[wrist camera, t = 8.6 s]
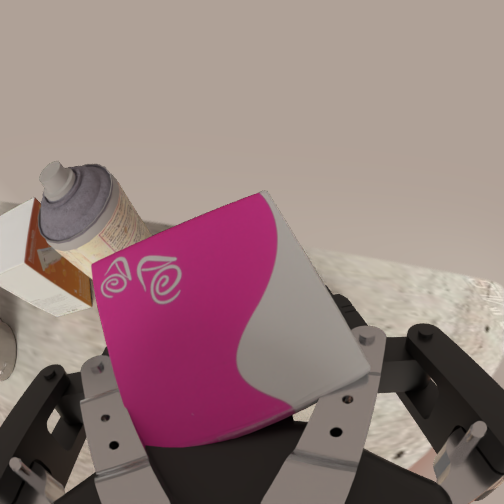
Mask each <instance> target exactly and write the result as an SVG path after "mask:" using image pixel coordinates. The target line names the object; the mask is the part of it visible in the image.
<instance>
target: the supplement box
mask: <svg viewBox="0 0 504 504" xmlns="http://www.w3.org/2000/svg"><path fill="white" fill-rule="evenodd" d="M91 270H92V279H93V285H94V291H95V297H96V302H97V307H98V312H99V316H100V320H101V324H102V328H103V332H104V337H105V341H106V345H107V349H108V353H109V357H110V360H111V364H112V368H113V372H114V375H115V379H116V382H117V386H118V389H119V392H120V395H121V398H122V401H123V404H124V407H125V408H127V410H128V412H129V414H130V416H131V418H132V420H133V422H134V424H135V426H136V428H137V430H138V432H139V434H140V435H141V437H142V439H143V441H144V443H145V445H148V446H157V447H191V446H199V445H206V444H211V443H216V442H221V441H225V440H230V439H234V438H238V437H241V436H243V435H246V434H249V433H252V432H254V431H257V430H259V429H262V428H264V427H267V426H269V425H271V424H274V423H276V422H278V421H280V420H283V419H285V418H287V417H289V416H291V415H293V414H295V413H297V412H299V411H301V410H304V409H306V408H308V407H310V406H311V405H313V404H315V403H317V402H318V400H319V397H320V396H322V395H325V394H328V393H330V392H333V391H335V390H337V389H340V388H342V387H344V386H346V385H349V384H351V383H353V382H355V381H357V380H358V379H360V378H362V377H363V376H364V375H366V374H367V373H369V371H370V369H371V367H370V365H369V362H368V361H367V359H366V357H365V355H364V353H363V351H362V349H361V347H360V346H359V344H358V342H357V340H356V339H355V337H354V335H353V333H352V332H351V330H350V328H349V326H348V324H347V323H346V321H345V319H344V317H343V316H342V314H341V312H340V310H339V309H338V307H337V305H336V304H335V302H334V300H333V298H332V297H331V295H330V293H329V292H328V290H327V288H326V286H325V285H324V283H323V281H322V280H321V278H320V276H319V275H318V273H317V271H316V270H315V268H314V266H313V265H312V263H311V261H310V260H309V258H308V256H307V255H306V253H305V252H304V250H303V248H302V247H301V245H300V244H299V242H298V240H297V239H296V237H295V235H294V234H293V232H292V230H291V229H290V227H289V225H288V224H287V222H286V220H285V219H284V217H283V215H282V214H281V212H280V210H279V209H278V207H277V206H276V204H275V203H274V201H273V199H272V198H271V196H270V194H269V193H268V191H261V192H259V193H257V194H254V195H251V196H248V197H245V198H243V199H240V200H238V201H236V202H233V203H230V204H227V205H225V206H222V207H220V208H217V209H215V210H212V211H210V212H207V213H205V214H203V215H200V216H198V217H195V218H193V219H190V220H188V221H186V222H183V223H181V224H179V225H176V226H174V227H172V228H169V229H167V230H165V231H162V232H160V233H158V234H156V235H153V236H151V237H149V238H147V239H144V240H142V241H140V242H137V243H135V244H133V245H131V246H128V247H126V248H124V249H122V250H120V251H117V252H115V253H113V254H111V255H109V256H107V257H105V258H103V259H100V260H98V261H96V262H94V263H93V264H91Z"/></svg>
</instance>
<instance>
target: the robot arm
mask: <svg viewBox="0 0 504 504" xmlns="http://www.w3.org/2000/svg"><path fill="white" fill-rule="evenodd" d="M325 286H326V285H325ZM326 288H327V290H328V292H329V293H330V295H331V297H332V298H333V300H334V302H335V304H336V305H337V307H338V309H339V310H340V312H341V314H342V316H343V317H344V319H345V321H346V323H347V324H348V326H349V328H350V330H351V332H352V333H353V335H354V337H355V339H356V340H357V342H358V344H359V346H360V347H361V349H362V351H363V353H364V355H365V357H366V359H367V361H368V362H369V365H370V367H371V369H370V371H369V373H367V374H366V375H364V376H363V377H362V378H360V379H358V380H357V381H355V382H353V383H351V384H349V385H346V386H344V387H342V388H340V389H337V390H335V391H333V392H330V393H328V394H325V395H322V396H320V397H319V400H318V402H317V404H316V406H315V409H314V411H313V413H312V415H311V417H310V420H309V422H302V421H294V420H293V416H292V415H291V416H289V417H287V418H285V419H283V420H280V421H278V422H276V423H274V424H271V425H269V426H267V427H264V428H262V429H259V430H257V431H254V432H252V433H249V434H246V435H243V436H241V437H238V438H234V439H230V440H225V441H221V442H216V443H211V444H206V445H199V446H191V447H157V446H148V445H145V443H144V441H143V439H142V437H141V435H140V434H139V432H138V430H137V428H136V426H135V424H134V422H133V420H132V418H131V416H130V414H129V412H128V410H127V408H125V407H124V404H123V401H122V398H121V395H120V392H119V389H118V386H117V382H116V379H115V375H114V372H113V368H112V364H111V360H110V357H109V353H108V349H107V347H106V348H105V350H104V352H103V354H102V355H100V356H95V357H93V358H91V359H89V360H87V361H86V362H85V363H84V364H83V365H82V367H81V372H77V373H72V374H67V373H66V372H65V370H64V368H63V367H62V366H61V365H56V364H55V365H50V366H48V367H46V368H44V369H43V370H41V371H40V373H39V374H38V375H37V376H36V378H35V379H34V380H33V382H32V383H31V384H30V386H29V387H28V388H27V390H26V391H25V392H24V394H23V395H22V397H21V398H20V399H19V401H18V402H17V404H16V405H15V406H14V408H13V409H12V411H11V412H10V414H9V415H8V417H7V418H6V420H5V421H4V423H3V424H2V426H1V427H0V504H470V503H471V502H473V501H479V500H481V499H483V498H485V497H486V496H488V495H489V494H490V493H491V492H492V491H493V490H495V489H496V488H497V487H498V486H499V485H501V484H502V482H504V390H503V389H502V388H501V387H500V386H499V385H498V384H497V383H496V382H495V381H494V380H493V379H492V378H491V377H490V376H489V375H488V374H487V373H486V372H485V371H484V370H483V369H482V368H481V367H480V366H479V365H478V364H477V363H476V362H475V361H474V360H473V359H472V358H471V357H470V356H469V355H467V354H466V353H465V352H464V351H463V350H462V349H461V348H460V347H459V346H458V345H457V344H456V343H454V342H453V341H452V340H451V339H450V338H449V337H448V336H447V335H446V334H444V333H443V332H442V331H441V330H440V329H439V328H437V327H436V326H434V325H431V324H424V323H423V324H416V325H413V326H412V327H410V328H409V330H408V333H407V337H386V334H385V333H384V332H383V331H382V330H381V329H379V328H377V327H374V326H368V325H367V324H366V322H365V321H364V320H363V318H362V317H361V316H360V314H359V313H358V312H357V311H356V309H355V308H354V306H352V304H351V302H350V301H349V300H348V298H346V297H344V296H342V295H340V294H336V295H333V294H332V293H331V291H330V290H329V288H328V287H327V286H326ZM15 360H16V343H15V338H14V334H13V332H12V330H11V328H10V327H9V326H8V325H7V324H6V323H4V322H2V321H1V319H0V381H2V380H6V379H7V378H8V377H9V376H10V375H11V373H12V371H13V368H14V365H15ZM430 378H432V380H433V381H434V382H435V383H436V384H435V383H434V382H433V381H432V380H431V379H430ZM436 385H437V386H436ZM391 392H396V394H397V395H398V397H399V398H400V400H401V401H402V402H403V404H404V405H405V407H406V408H407V410H408V411H409V413H410V414H411V416H412V417H413V419H414V420H415V421H416V423H417V424H418V426H419V427H420V429H421V430H422V432H423V433H424V435H425V436H426V438H427V439H428V441H429V442H430V444H431V446H432V447H433V449H434V450H435V452H436V453H437V456H436V457H435V460H434V464H433V467H434V471H435V474H436V478H437V483H436V482H434V481H432V480H430V479H427V478H425V477H423V476H420V475H418V474H416V473H413V472H411V471H409V470H407V469H405V468H402V467H400V466H398V465H396V464H394V463H392V462H390V461H388V460H386V459H384V458H382V457H380V456H378V455H376V454H374V453H372V452H370V451H368V450H366V449H364V444H365V441H366V437H367V434H368V430H369V426H370V422H371V418H372V414H373V410H374V406H375V401H376V397H377V393H391ZM54 408H55V409H56V411H57V412H58V413H59V415H60V416H61V417H60V419H59V421H58V423H57V425H56V426H55V428H54V430H53V432H52V434H50V433H49V431H48V429H47V420H48V418H49V417H50V415H51V413H52V412H53V410H54ZM86 437H87V441H88V445H89V449H90V453H91V457H92V460H93V464H94V467H95V471H96V472H95V473H93V474H92V475H91V476H89V477H88V478H87V479H85V480H84V481H83V482H81V483H80V484H78V485H77V486H76V487H74V488H73V489H71V490H70V491H69V492H67V493H66V494H65V490H64V489H65V486H66V484H67V481H68V479H69V476H70V474H71V471H72V469H73V467H74V464H75V462H76V460H77V457H78V455H79V453H80V450H81V448H82V446H83V444H84V441H85V439H86Z"/></svg>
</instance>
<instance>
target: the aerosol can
mask: <svg viewBox="0 0 504 504" xmlns="http://www.w3.org/2000/svg"><path fill="white" fill-rule="evenodd" d="M39 180H40V182H41V183H42V185H43V186H44V192H43V198H42V201H41V207H40V211H39V214H38V228H39V231H40V234H41V235H42V236H43V237H44V238H45V239H46V241H47V243H48V244H49V245H50V246H51V247H52V248H53V249H55V250H56V251H57V252H58V253H59V254H61V255H62V256H63V257H64V258H66V259H67V260H68V261H69V262H70V263H72V264H73V265H74V266H76V267H77V268H78V269H79V270H81V271H82V272H83V273H85V274H86V275H87V276H89V277H90V278H91V279H92V270H91V264H93V263H94V262H96V261H98V260H100V259H103V258H105V257H107V256H109V255H111V254H113V253H115V252H117V251H120V250H122V249H124V248H126V247H128V246H131V245H133V244H135V243H137V242H140V241H142V240H144V239H147V238H149V237H151V236H152V235H151V233H150V232H149V230H148V229H147V227H146V226H145V224H144V222H143V221H142V219H141V218H140V217H139V215H138V213H137V212H136V210H135V209H134V207H133V206H132V204H131V202H130V201H129V199H128V197H127V196H126V194H125V193H124V191H123V190H122V188H121V186H120V184H119V183H118V181H117V180H116V179H115V178H114V176H113V175H112V174H110V172H109V171H108V170H107V169H106V167H104V166H101V165H99V164H86V165H83V166H75V167H68V168H64V167H63V166H62V165H61V164H60V162H58V161H54V162H52V163H50V164H49V165H47V166H46V167H45V168H44V169H43V171H42V172H41V174H40V177H39ZM92 280H93V279H92Z"/></svg>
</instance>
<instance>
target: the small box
mask: <svg viewBox="0 0 504 504" xmlns="http://www.w3.org/2000/svg"><path fill="white" fill-rule="evenodd" d="M40 207H41V203H40V202H39V201H38V200H37V199H36V198H35V197H34V198H31V199H30V200H28V201H26V202H24V203H22V204H20V205H18V206H17V207H15V208H13V209H11V210H9V211H8V212H6V213H4V214H2V215H1V216H0V287H2V288H3V289H5V290H7V291H9V292H10V293H12V294H14V295H16V296H17V297H19V298H21V299H23V300H25V301H26V302H28V303H30V304H32V305H34V306H36V307H38V308H40V309H42V310H44V311H46V312H48V313H50V314H52V315H54V316H56V317H59V316H62V315H66V314H69V313H73V312H76V311H80V310H83V309H87V308H90V307H92V303H91V295H90V280H89V276H87V275H86V274H85V273H83V272H82V271H81V270H79V269H78V268H77V267H76V266H74V265H73V264H72V263H70V262H69V261H68V260H67V259H66V258H64V257H63V256H62V255H61V254H59V253H58V252H57V251H56V250H55V249H53V248H52V247H51V246H50V245H49V244H48V243H47V241H46V239H45V238H44V237H43V236H42V235H41V234H40V231H39V228H38V214H39V211H40Z"/></svg>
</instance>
